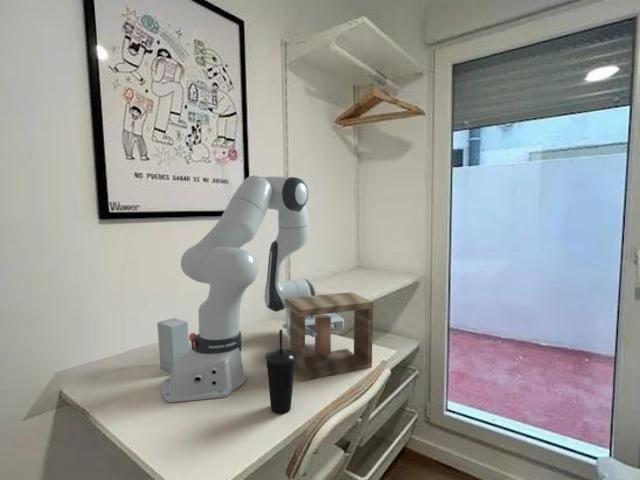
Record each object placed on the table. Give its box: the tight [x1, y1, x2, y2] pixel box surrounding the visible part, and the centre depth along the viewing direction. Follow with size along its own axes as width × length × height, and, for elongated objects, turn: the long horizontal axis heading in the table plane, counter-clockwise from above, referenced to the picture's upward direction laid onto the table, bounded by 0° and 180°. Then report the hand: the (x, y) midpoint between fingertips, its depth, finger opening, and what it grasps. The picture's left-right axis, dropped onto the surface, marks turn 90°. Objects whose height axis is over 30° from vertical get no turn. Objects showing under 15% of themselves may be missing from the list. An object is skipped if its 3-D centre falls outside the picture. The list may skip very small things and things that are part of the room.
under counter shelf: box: [285, 291, 374, 382], centre depth 110 cm, size 24×14×21 cm, turn 113°
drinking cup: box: [264, 329, 296, 415], centre depth 85 cm, size 8×8×20 cm
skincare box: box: [156, 317, 190, 374], centre depth 107 cm, size 8×6×15 cm
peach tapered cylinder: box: [314, 315, 332, 356], centre depth 114 cm, size 5×5×12 cm
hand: (324, 333), depth 113 cm, fingers closed on peach tapered cylinder, 5 cm apart
